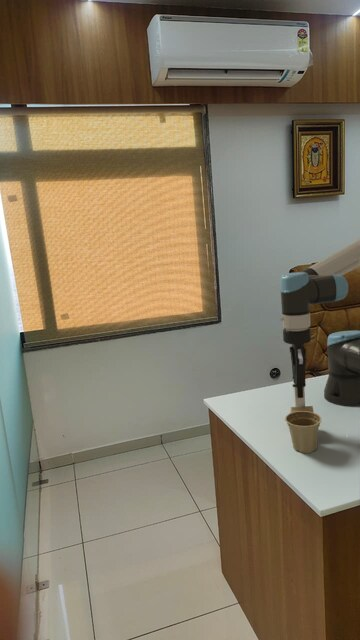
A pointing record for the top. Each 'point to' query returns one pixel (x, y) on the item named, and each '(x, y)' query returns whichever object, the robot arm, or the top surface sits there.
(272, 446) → the top surface
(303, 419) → the flower pot
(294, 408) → the tan cube
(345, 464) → the top surface
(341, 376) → the robot arm
